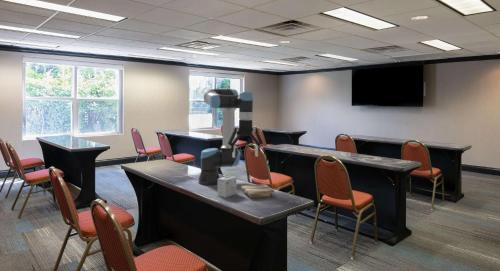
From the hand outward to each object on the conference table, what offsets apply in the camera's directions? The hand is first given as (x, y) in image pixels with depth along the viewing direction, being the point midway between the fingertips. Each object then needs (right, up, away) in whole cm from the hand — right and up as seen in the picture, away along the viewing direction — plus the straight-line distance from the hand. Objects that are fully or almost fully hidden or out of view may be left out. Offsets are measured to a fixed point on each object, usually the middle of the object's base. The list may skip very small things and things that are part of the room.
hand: (245, 156), depth 191 cm
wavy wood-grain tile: (+7, -24, +14) cm, 28 cm away
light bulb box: (-11, -24, +12) cm, 29 cm away
